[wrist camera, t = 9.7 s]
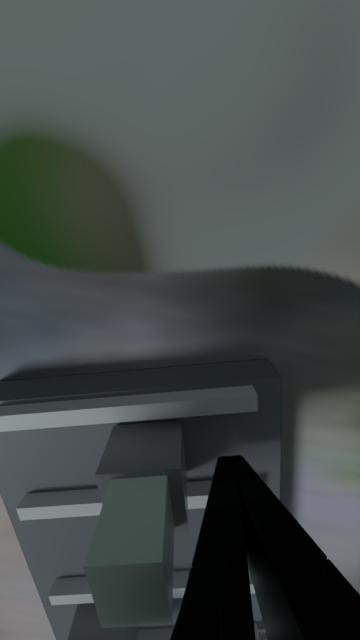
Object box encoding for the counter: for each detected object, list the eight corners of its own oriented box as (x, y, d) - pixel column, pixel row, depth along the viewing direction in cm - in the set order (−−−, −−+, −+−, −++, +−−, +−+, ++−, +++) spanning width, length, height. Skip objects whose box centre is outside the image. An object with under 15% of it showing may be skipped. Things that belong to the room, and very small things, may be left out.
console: (266, 591, 14) (281, 650, 12) (70, 603, 14) (51, 662, 12) (267, 358, 10) (289, 387, 8) (-4, 381, 10) (-50, 414, 8)
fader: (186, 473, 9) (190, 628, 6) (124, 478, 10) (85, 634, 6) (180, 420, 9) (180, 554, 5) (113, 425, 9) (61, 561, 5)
